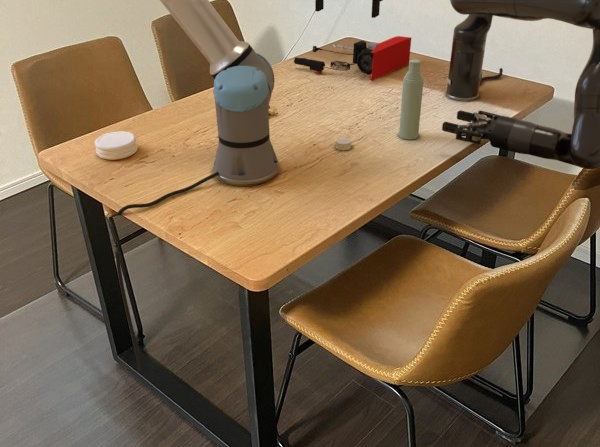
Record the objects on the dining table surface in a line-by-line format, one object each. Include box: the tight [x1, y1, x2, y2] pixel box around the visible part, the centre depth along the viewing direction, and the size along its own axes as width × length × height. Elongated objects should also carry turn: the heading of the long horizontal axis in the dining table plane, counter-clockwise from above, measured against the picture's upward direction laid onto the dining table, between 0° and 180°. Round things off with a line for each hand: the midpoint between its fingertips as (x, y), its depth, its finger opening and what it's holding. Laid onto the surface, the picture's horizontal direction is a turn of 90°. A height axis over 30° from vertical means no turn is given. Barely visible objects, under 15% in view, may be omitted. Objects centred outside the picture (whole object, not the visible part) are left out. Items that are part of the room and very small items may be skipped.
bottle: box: [398, 58, 424, 141], centre depth 156 cm, size 5×5×20 cm
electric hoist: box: [293, 35, 412, 82], centre depth 207 cm, size 10×27×30 cm
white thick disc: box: [94, 130, 139, 161], centre depth 154 cm, size 10×10×4 cm
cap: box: [335, 137, 352, 151], centre depth 156 cm, size 4×4×2 cm
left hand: (346, 13), depth 139 cm, fingers open, 13 cm apart
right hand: (450, 120), depth 152 cm, fingers open, 8 cm apart
